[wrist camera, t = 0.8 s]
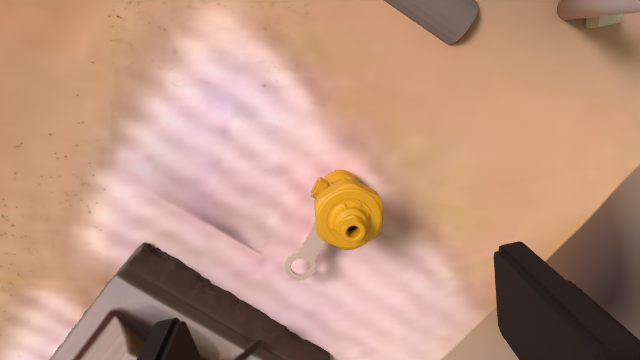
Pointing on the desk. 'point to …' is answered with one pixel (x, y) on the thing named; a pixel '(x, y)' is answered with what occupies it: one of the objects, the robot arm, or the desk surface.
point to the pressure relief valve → (339, 218)
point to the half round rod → (440, 16)
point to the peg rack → (597, 11)
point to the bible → (177, 302)
